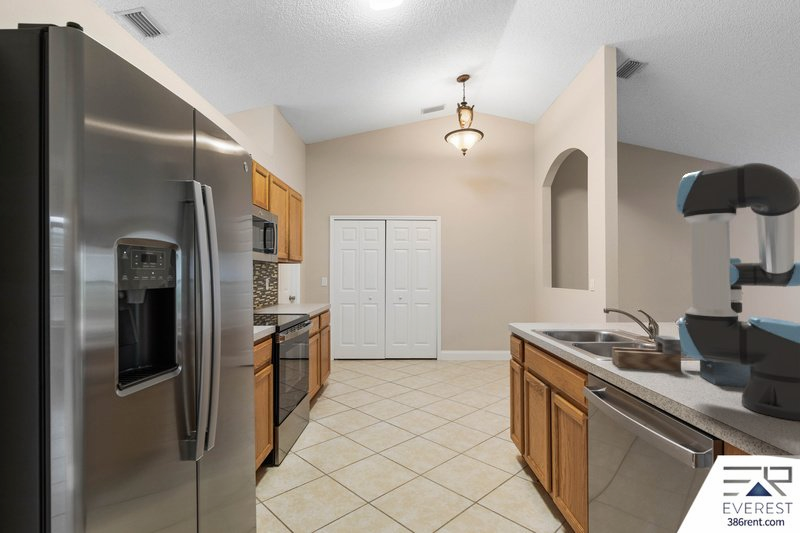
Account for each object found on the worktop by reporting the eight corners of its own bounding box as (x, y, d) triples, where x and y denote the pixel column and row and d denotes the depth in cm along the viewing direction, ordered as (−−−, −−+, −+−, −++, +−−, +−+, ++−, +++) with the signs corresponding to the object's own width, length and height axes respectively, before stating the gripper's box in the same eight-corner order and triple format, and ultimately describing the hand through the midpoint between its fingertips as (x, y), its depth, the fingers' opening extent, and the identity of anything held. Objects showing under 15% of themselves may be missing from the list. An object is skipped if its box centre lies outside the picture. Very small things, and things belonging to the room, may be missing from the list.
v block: (753, 387, 116) (753, 363, 116) (714, 384, 118) (714, 361, 118) (735, 378, 125) (735, 357, 125) (700, 376, 128) (699, 355, 128)
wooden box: (670, 365, 143) (670, 335, 144) (681, 371, 135) (680, 340, 135) (612, 361, 149) (611, 333, 149) (618, 367, 140) (618, 337, 141)
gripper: (755, 303, 126) (756, 373, 126) (727, 299, 142) (728, 362, 142) (728, 302, 128) (729, 371, 128) (703, 299, 144) (704, 360, 144)
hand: (729, 366), depth 135 cm, fingers closed on steel bar, 4 cm apart
